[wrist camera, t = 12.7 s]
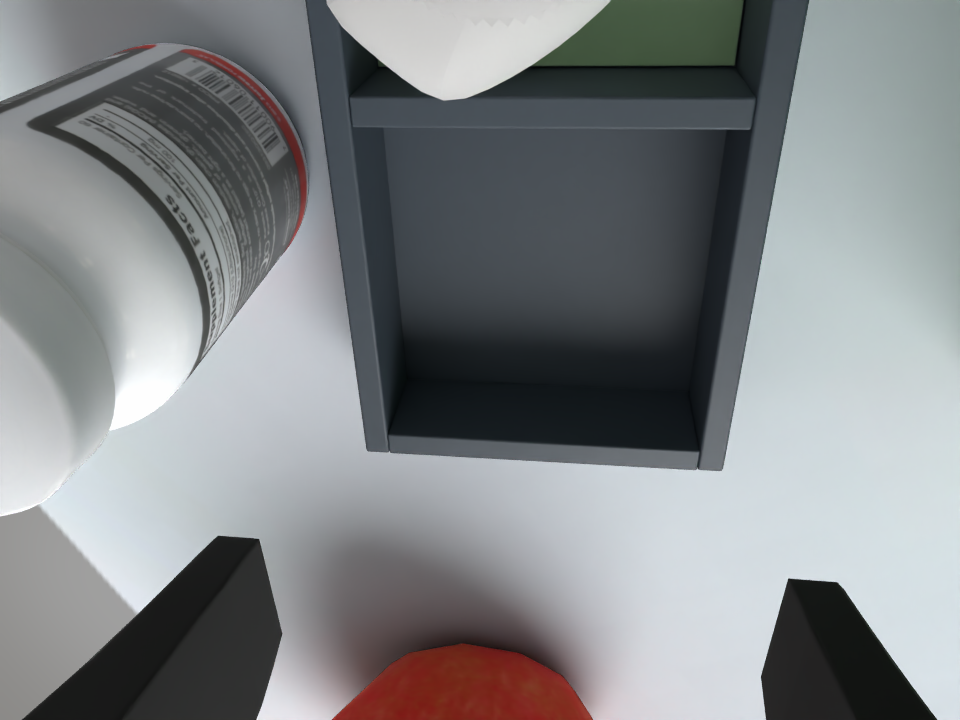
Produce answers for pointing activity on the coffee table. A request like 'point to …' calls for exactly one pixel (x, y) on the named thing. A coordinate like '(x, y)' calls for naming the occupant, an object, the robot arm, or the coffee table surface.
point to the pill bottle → (128, 243)
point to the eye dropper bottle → (461, 37)
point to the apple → (466, 688)
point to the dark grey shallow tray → (562, 235)
